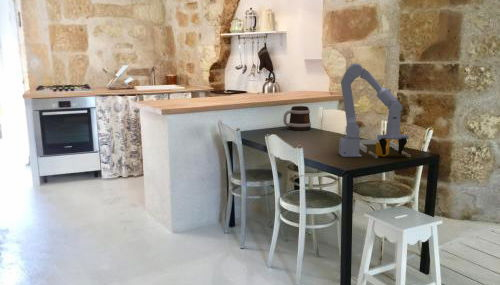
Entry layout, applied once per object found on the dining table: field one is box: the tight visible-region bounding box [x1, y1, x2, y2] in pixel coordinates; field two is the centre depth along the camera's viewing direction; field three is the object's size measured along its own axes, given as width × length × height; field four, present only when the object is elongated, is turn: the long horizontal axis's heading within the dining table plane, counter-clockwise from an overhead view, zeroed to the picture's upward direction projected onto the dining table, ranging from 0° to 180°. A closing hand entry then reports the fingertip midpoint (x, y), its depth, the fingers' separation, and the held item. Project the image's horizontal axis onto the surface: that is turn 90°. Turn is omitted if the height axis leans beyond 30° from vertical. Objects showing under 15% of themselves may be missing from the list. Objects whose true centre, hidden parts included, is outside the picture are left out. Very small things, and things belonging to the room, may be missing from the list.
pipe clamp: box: [375, 139, 391, 158], centre depth 214 cm, size 12×4×6 cm, turn 144°
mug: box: [283, 105, 312, 132], centre depth 286 cm, size 20×15×15 cm
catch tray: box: [359, 138, 399, 153], centre depth 228 cm, size 19×21×2 cm
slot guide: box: [368, 150, 412, 159], centre depth 210 cm, size 17×10×1 cm, turn 94°
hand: (391, 154), depth 207 cm, fingers open, 7 cm apart
